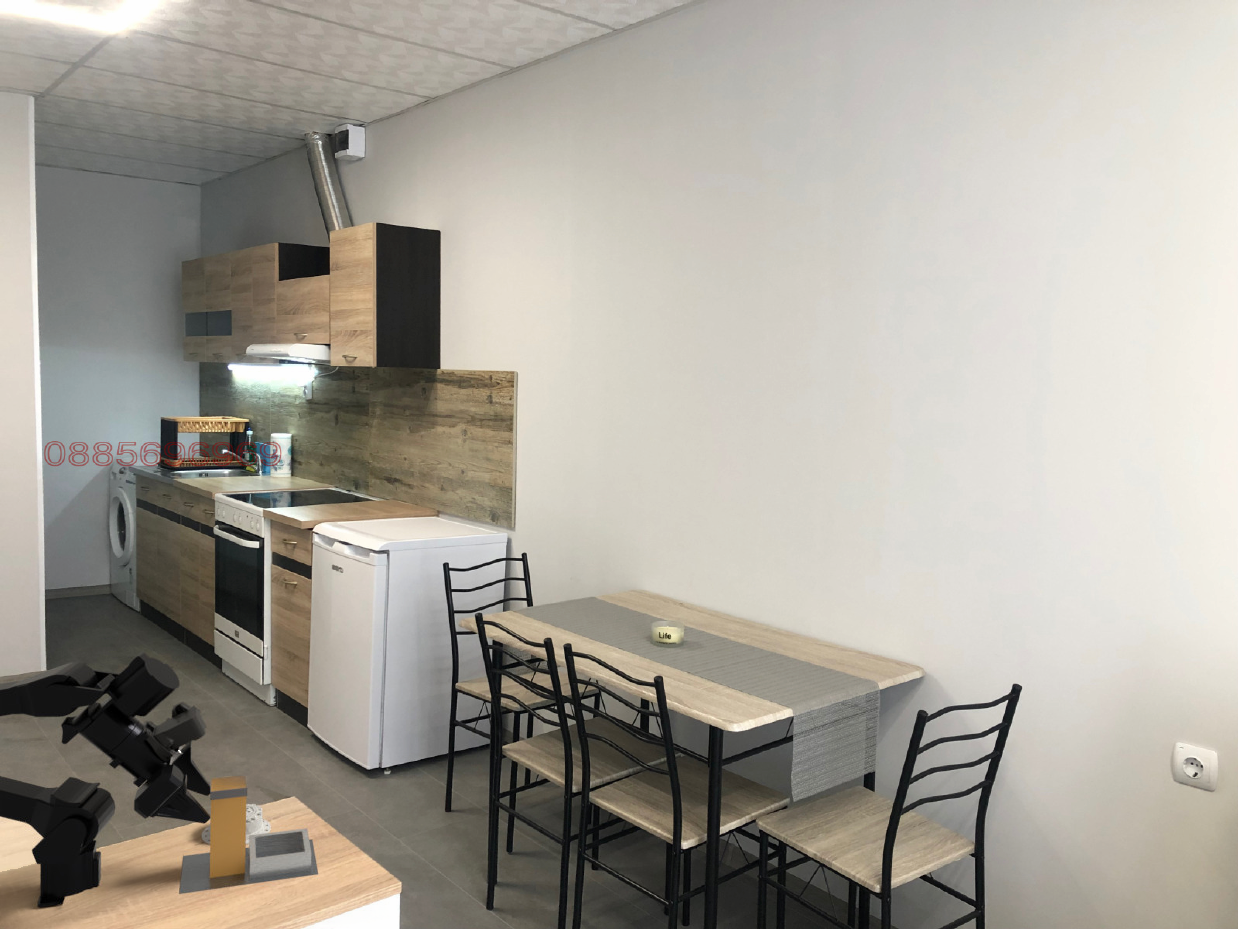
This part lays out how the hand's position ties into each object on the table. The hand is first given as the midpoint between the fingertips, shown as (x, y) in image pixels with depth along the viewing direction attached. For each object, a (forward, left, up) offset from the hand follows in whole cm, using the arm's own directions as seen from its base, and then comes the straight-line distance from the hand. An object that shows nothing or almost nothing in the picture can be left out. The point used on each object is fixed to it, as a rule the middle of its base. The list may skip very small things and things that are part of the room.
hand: (209, 806), depth 133 cm
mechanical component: (+4, +12, -11) cm, 16 cm away
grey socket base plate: (+5, 0, -10) cm, 12 cm away
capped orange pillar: (+2, 0, -9) cm, 10 cm away
